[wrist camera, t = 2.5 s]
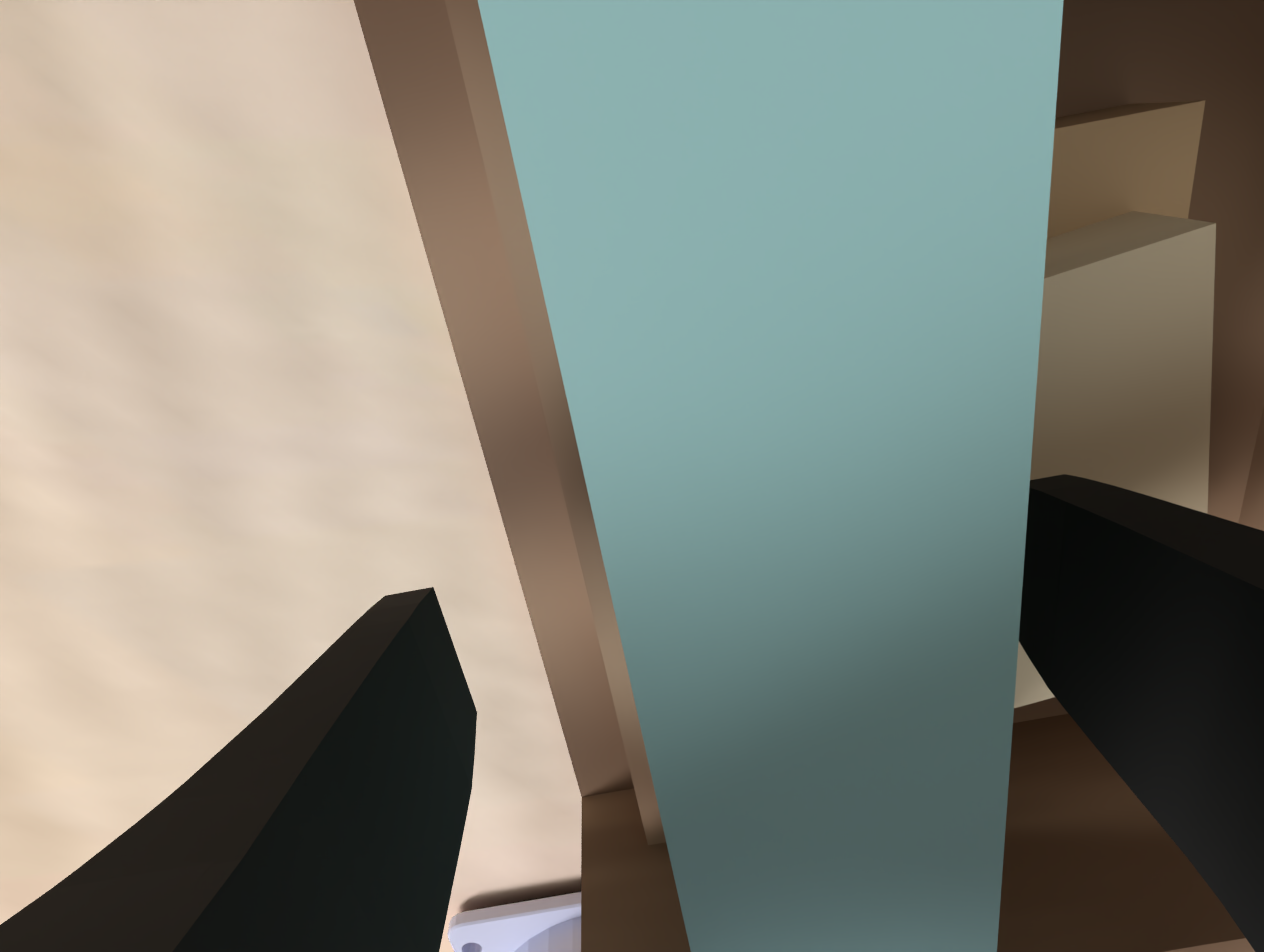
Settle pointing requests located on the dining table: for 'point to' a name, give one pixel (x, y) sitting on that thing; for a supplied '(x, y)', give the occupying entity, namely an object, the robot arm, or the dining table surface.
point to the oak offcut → (1123, 163)
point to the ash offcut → (1125, 365)
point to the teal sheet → (803, 426)
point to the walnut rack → (565, 529)
